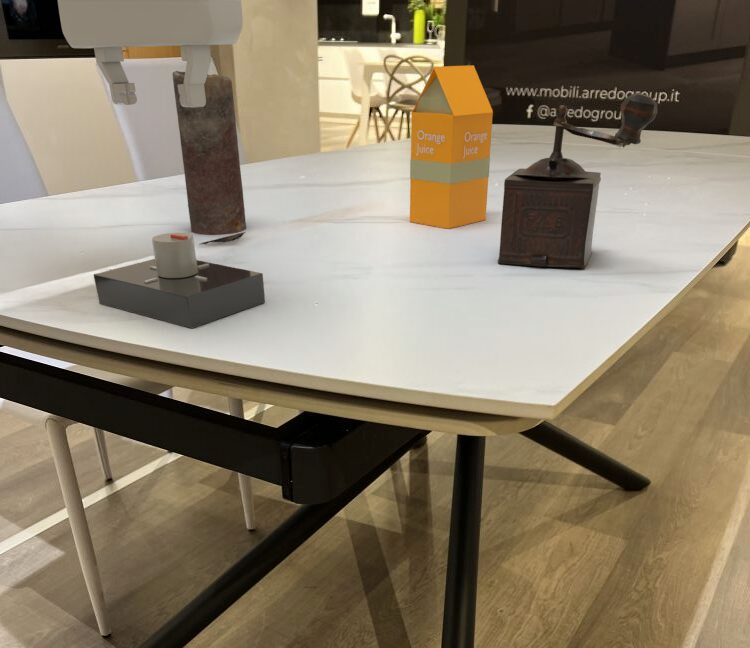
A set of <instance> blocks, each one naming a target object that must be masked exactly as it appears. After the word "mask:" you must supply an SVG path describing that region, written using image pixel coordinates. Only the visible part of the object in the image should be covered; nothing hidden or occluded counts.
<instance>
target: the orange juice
mask: <svg viewBox="0 0 750 648" xmlns="http://www.w3.org/2000/svg"><path fill="white" fill-rule="evenodd" d="M423 87H424V88H423V89H422V91H421V94H420V95H419V98H418V99H417V102H416V104H415V106H414V107H413V109H412V111H411V117H410V119H411V121H410V159H409V160H410V162H409V164H410V165H409V168H410V170H409V179H410V183H409V184H410V187H409V188H410V189H409V198H410V199H409V223H413V224H420V225H425V226H430V227H436V228H441V229H447V230H449V229H454V228H458V227H462V226H466V225H470V224H475V223H479V222H483V221H486V220H487V219H486V218H487V204H488V191H489V190H488V189H489V177H490V167H491V166H490V165H491V164H490V163H491V143H492V128H493V116H494V111H493V107H492V106H491V103H490V101H489V98H488V96H487V94H486V91H485V89H484V86H483V84H482V82H481V79H480V76H479V75H478V71H477V70H476V67H475V65H473V64H472V65H447V66H446V65H443V66H433V69H432V71H431V72H430V75H429V77H428V79H427V81H426V83H425V85H424V86H423Z"/></svg>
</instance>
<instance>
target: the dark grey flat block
mask: <svg viewBox="0 0 750 648" xmlns="http://www.w3.org/2000/svg"><path fill="white" fill-rule="evenodd" d="M196 261H197V268H198V273H197V274H195V275H193V276H189V277H184V278H163V277H160V276H158V275H157V269H156V263H155V258H152V259H149V260H145V261H141V262H137V263H133V264H129V265H124V266H121V267H117V268H113V269H109V270H106V271H101V272H98V273H94V274H93V279H94V280H93V281H94V284H95V289H96V293H97V299H98V303H99V304H100V305H103V306H107V307H111V308H114V309H118V310H122V311H126V312H130V313H134V314H137V315H141V316H143V317H149V318H152V319H156V320H160V321H163V322H167V323H171V324H174V325H178V326H182V327H185V328H189V329H194V328H197V327H199V326H203V325H205V324H208V323H210V322H214V321H217V320H219V319H222V318H226V317H228V316H230V315H233V314H236V313H240V312H242V311H245V310H247V309H251V308H253V307H256V306H259V305H263V304H265V303H266V295H265V294H266V293H265V284H264V273H263V272H259V271H253V270H248V269H243V268H238V267H234V266H228V265H223V264H218V263H213V262H208V261H203V260H198V259H196Z"/></svg>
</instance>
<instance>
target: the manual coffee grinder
mask: <svg viewBox="0 0 750 648" xmlns="http://www.w3.org/2000/svg"><path fill="white" fill-rule="evenodd" d="M619 109H620V110H619V112H620V115H621V126H620V128H619V129H618V131H617V132H615V134H614V135H612V134H609V133H605V132H601V131H597V130H594V129H589V128H584V127H577V126H575V125H572V124H569V123H568V120H567V119H566V117H567V115H568V112H569V110H568V107H567V106H566V105H563V104H561V105H559V106H558V107H557V108H556V109H555V115H556V119H554V121H553V126H554V127H555V131H554V132H555V133H554V141H553V148H552V152H551V154H550V156H549V157H545V158H541V159H539V160H537V161H536V162H533V163H532V164H531V165H529V166H528V167H527V168H518V169H516V170H515V171H514V172H512V173H511V174H510V175H508V176H507V177H506V178H505V179H504V182H503V183H504V184H503V200H502V212H501V224H500V239H499V253H498V254H499V255H498V258H497V263H498V264H499V265H513V266H525V267H537V268H539V267H540V268H548V267H550V268H569V269H571V268H573V269H584V268H585V267H586V266H587V265H588V263H589V262H590V259H591V257H592V252H593V251H592V247H593V237H594V229H595V228H594V227H595V220H596V214H597V213H596V212H597V204H598V198H599V189H600V182H601V174H602V172H597V171H586V170H585V169H584V168H583V167H582V166H581V164H579V163H578V162H576V161H574V160H573V159H571V158H567V157H564V156H563V152H562V146H563V140H564V132H565V131H567V132H568V133H570V134H571V135H574V136H578V137H582V138H588V139H592V140H595V141H600V142H604V143H606V144H609V145H612V146H616V147H619V148H621V147H622V148H625V147H626V146H629V145H631V144H632V145H639V144H641V142H642V141H641V134H642V131H643V130H644V129H646V127H647V126H648V125H649V124H650V123H652V122H653V121H654V120H655V119H656V117H657V115H658V112H659V111H658V103H657V102H656V100H654V98H653V97H652V96H650V95H647V94H644V93H641V92H633V93H632V94H631V95H629V96H626V97H625V99H623V101H622V103H620V108H619Z"/></svg>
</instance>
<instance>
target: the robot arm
mask: <svg viewBox="0 0 750 648" xmlns="http://www.w3.org/2000/svg"><path fill="white" fill-rule="evenodd" d="M57 6H58V14H59V20H60V26H61V31H62V34H63V36H64V38H65V40H66V42H67V44H69V46H70V47H71V48H73V49H93V50H94V56H95V61H96V64H97V66H98V69H100V71H101V73H102V76H103V77H104V78H105V80H106V82H107V84H108V85H109V92H110V96H111V97H110V98H111V102H112V103H113V104H114V105H116V106H131V105H136V104H137V102H138V98H137V95H136V85H135V82H129V79H128V77H127V75H126V72H125V70H124V67H123V65H122V62H124V61H125V57H124V52H123V48H139V47H140V48H141V47H143V48H144V47H148V48H149V47H179V49H180V57H181V61H182V62H186V64H185V65H186V66H185V71H184V72H185V77H184V83H183V84H178V92H179V95H180V98H179V100H180V104H181V105H182V106H183V107H204V106H205V104H206V97H205V89H204V83H205V81H206V78H207V75H209V71H210V67H211V63H212V54H211V46H221V45H225V46H226V45H235V44H237V42H238V41H239V39H240V35H241V33H242V30H243V8H242V7H243V6H242V0H57Z"/></svg>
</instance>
